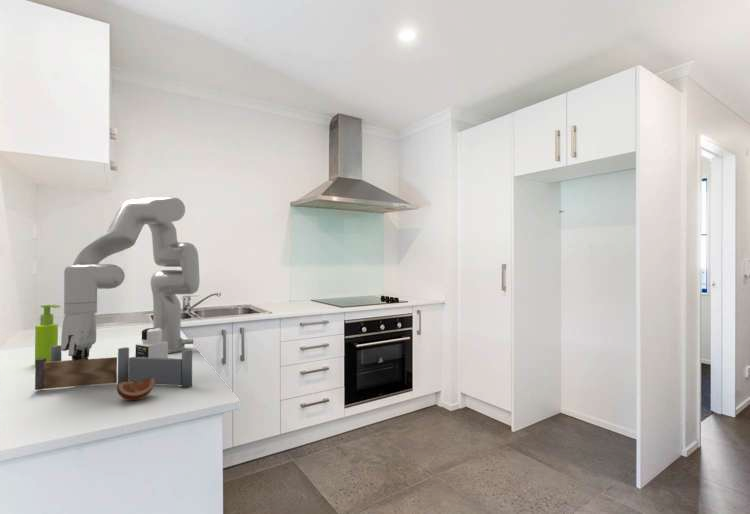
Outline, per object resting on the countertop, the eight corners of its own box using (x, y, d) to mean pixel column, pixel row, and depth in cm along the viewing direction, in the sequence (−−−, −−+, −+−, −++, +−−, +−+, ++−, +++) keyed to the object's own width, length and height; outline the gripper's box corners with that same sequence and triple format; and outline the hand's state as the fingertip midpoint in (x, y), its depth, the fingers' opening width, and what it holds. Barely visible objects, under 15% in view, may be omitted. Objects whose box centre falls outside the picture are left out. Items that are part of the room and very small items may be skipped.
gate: (116, 381, 111) (117, 353, 111) (114, 383, 109) (115, 354, 109) (38, 387, 105) (38, 358, 105) (34, 390, 103) (35, 359, 104)
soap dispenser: (50, 365, 130) (51, 305, 130) (30, 365, 130) (30, 305, 130) (64, 361, 135) (65, 304, 136) (45, 361, 136) (46, 304, 136)
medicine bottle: (134, 364, 131) (135, 329, 131) (155, 360, 137) (155, 326, 138) (147, 367, 128) (148, 331, 128) (168, 362, 134) (168, 327, 134)
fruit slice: (153, 392, 103) (153, 374, 103) (157, 400, 98) (157, 380, 98) (115, 399, 98) (116, 379, 98) (117, 407, 93) (118, 386, 93)
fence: (193, 385, 109) (194, 349, 109) (188, 388, 107) (188, 351, 107) (56, 378, 115) (56, 345, 115) (47, 381, 112) (48, 347, 112)
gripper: (78, 305, 117) (78, 366, 117) (50, 312, 102) (49, 381, 102) (107, 305, 118) (106, 365, 118) (83, 311, 104) (82, 379, 104)
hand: (80, 372), depth 110 cm, fingers closed
